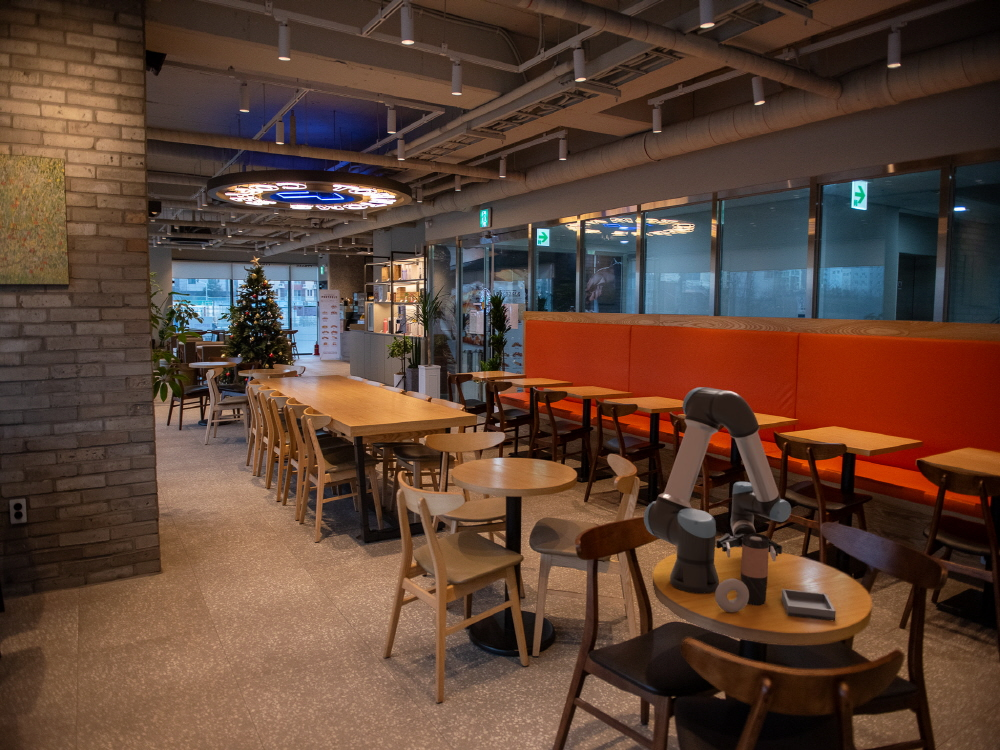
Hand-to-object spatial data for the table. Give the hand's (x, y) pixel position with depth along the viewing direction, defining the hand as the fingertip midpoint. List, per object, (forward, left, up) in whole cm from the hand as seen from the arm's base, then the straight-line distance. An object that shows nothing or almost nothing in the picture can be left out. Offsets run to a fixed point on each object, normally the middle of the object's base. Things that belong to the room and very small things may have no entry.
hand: (751, 555), depth 217 cm
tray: (+15, -12, -11) cm, 22 cm away
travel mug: (0, -10, -11) cm, 15 cm away
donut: (-7, -20, -11) cm, 24 cm away
